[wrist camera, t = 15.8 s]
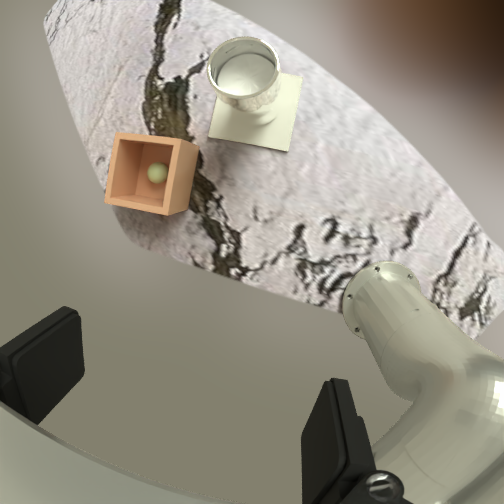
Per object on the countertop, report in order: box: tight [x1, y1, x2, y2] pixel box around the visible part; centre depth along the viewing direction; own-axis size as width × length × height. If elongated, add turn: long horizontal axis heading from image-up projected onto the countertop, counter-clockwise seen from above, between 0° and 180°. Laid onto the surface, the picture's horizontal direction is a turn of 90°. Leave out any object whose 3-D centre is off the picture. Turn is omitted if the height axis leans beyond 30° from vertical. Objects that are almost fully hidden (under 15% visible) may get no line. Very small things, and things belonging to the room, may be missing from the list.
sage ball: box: [147, 162, 169, 184], centre depth 40 cm, size 3×3×3 cm
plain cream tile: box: [208, 73, 303, 152], centre depth 38 cm, size 11×11×1 cm
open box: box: [104, 132, 200, 216], centre depth 38 cm, size 9×9×8 cm
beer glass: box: [207, 37, 282, 126], centre depth 31 cm, size 7×7×15 cm
